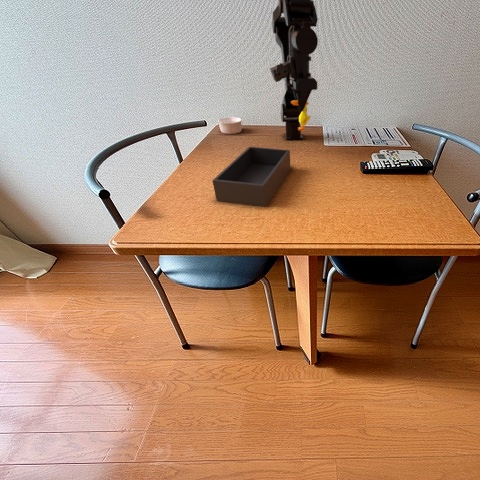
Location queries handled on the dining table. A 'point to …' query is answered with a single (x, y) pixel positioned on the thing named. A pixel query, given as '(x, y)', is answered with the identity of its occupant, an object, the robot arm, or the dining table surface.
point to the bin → (252, 176)
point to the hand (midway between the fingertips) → (300, 110)
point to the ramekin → (230, 125)
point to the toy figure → (302, 115)
